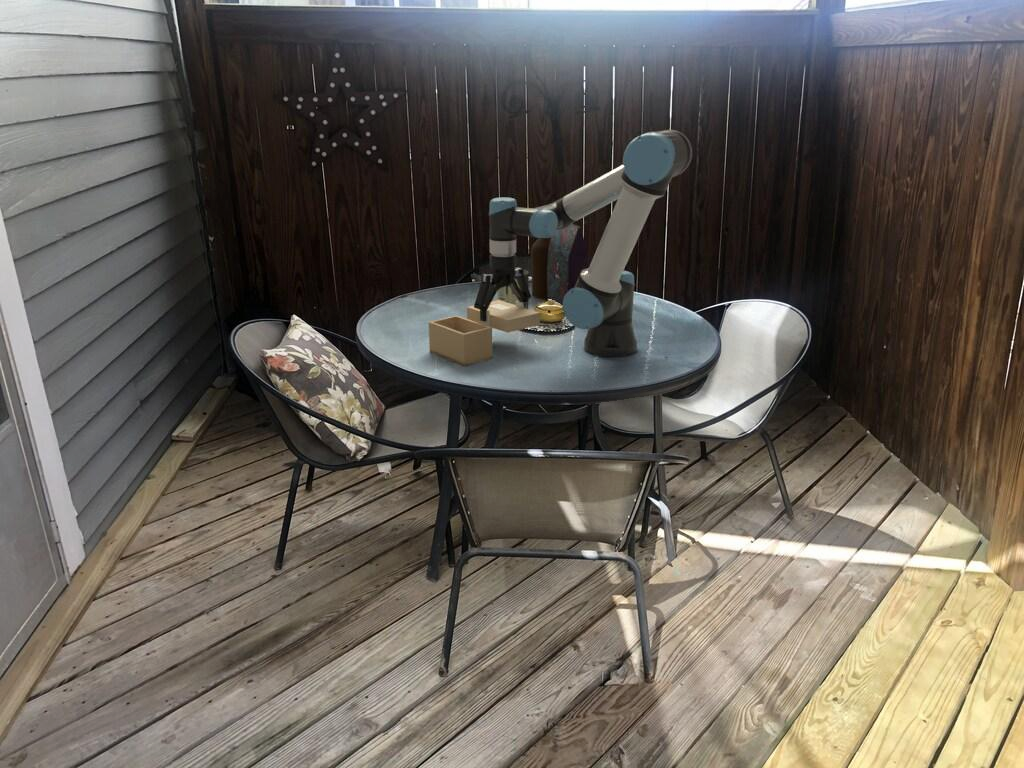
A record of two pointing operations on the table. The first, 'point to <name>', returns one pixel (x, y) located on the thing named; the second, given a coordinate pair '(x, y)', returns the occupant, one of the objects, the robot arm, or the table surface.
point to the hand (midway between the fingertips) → (503, 327)
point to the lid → (506, 316)
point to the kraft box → (460, 340)
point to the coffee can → (508, 295)
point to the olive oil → (539, 267)
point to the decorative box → (565, 261)
